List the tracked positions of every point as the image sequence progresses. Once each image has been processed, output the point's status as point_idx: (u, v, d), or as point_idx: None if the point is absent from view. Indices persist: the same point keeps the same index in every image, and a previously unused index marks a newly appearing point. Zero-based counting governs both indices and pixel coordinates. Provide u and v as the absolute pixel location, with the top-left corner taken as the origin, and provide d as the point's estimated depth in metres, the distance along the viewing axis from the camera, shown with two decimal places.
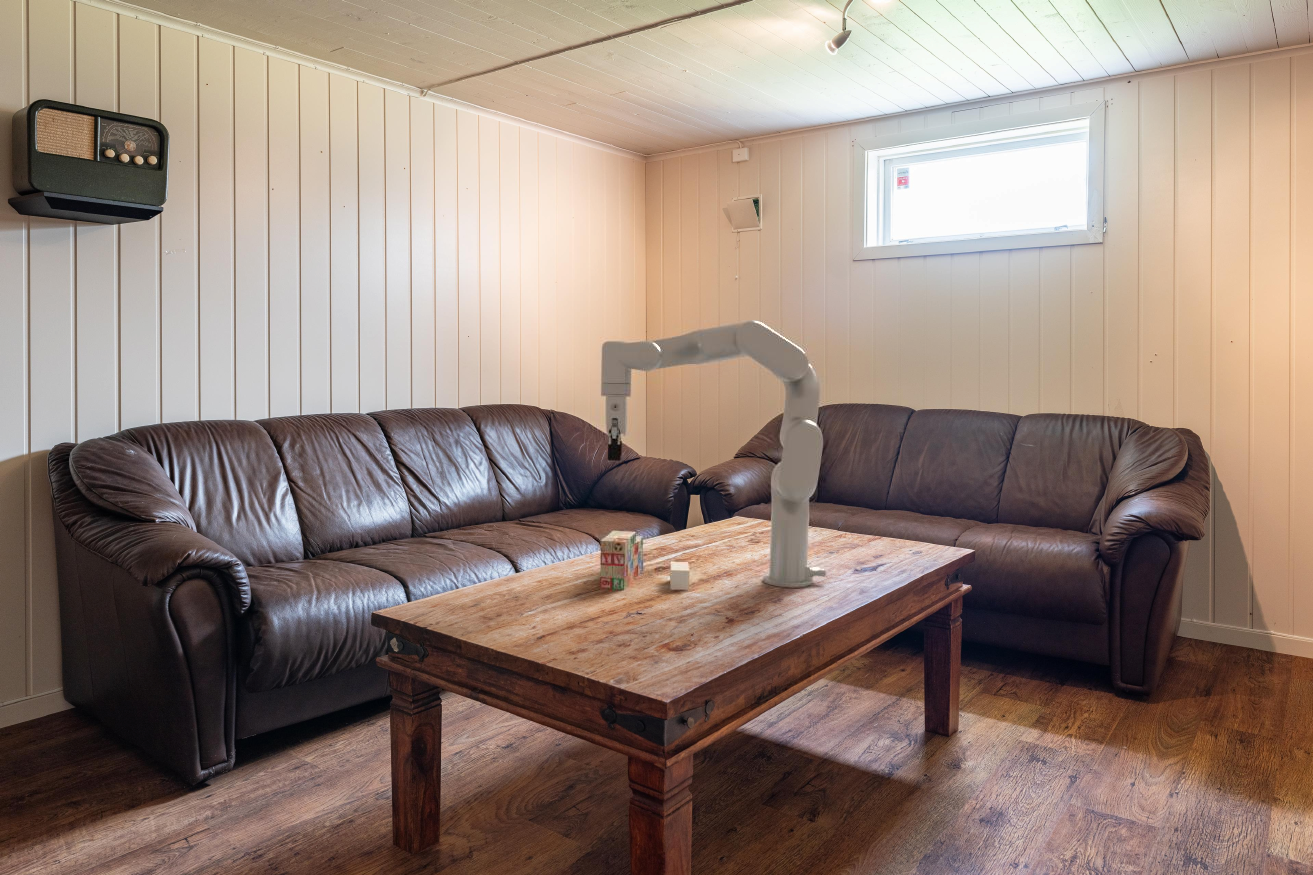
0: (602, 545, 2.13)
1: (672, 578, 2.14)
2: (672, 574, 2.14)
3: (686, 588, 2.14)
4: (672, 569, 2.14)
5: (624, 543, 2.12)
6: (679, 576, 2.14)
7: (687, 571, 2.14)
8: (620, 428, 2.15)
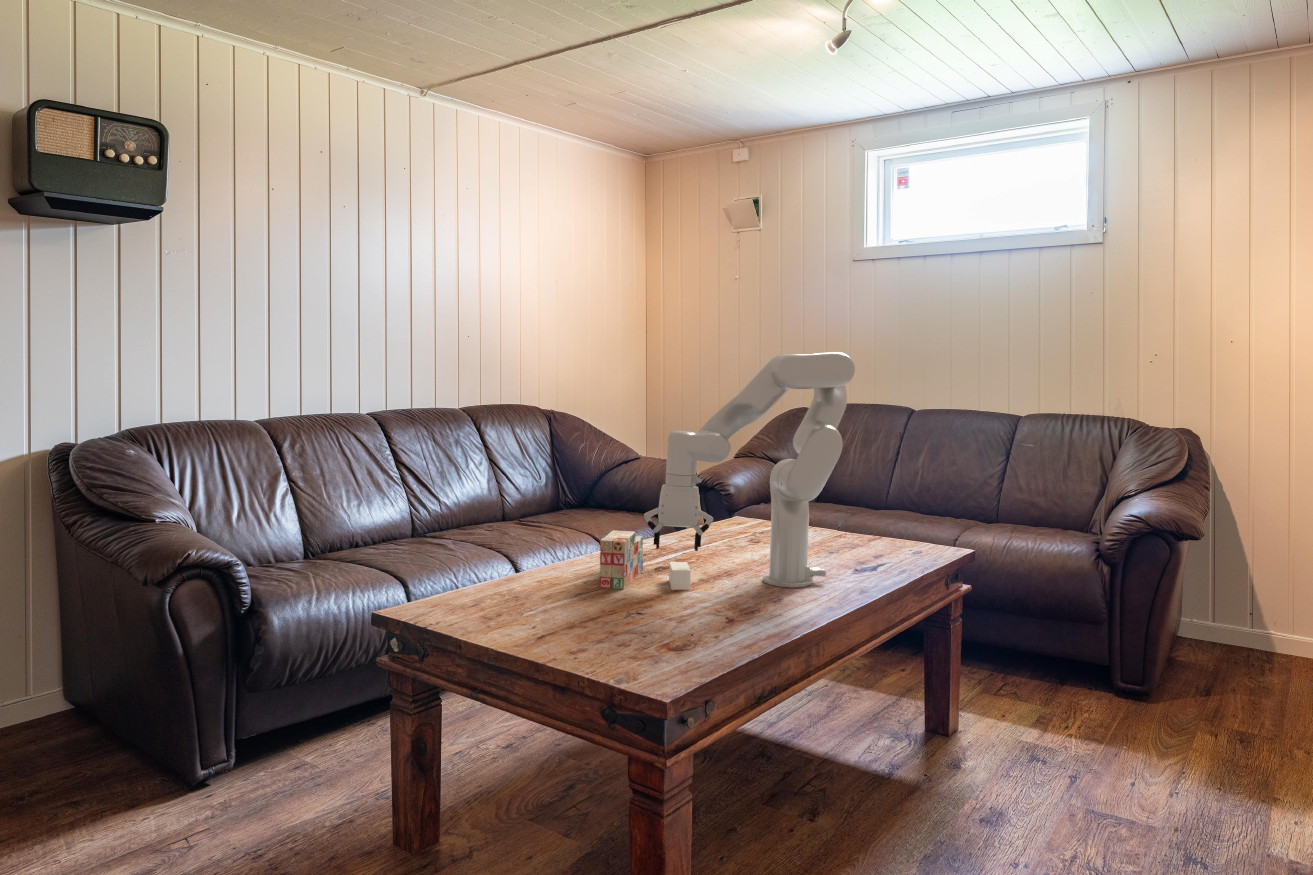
0: (602, 545, 2.13)
1: (673, 578, 2.14)
2: (673, 574, 2.13)
3: (687, 588, 2.14)
4: (673, 569, 2.14)
5: (624, 543, 2.12)
6: (680, 576, 2.14)
7: (688, 571, 2.14)
8: None
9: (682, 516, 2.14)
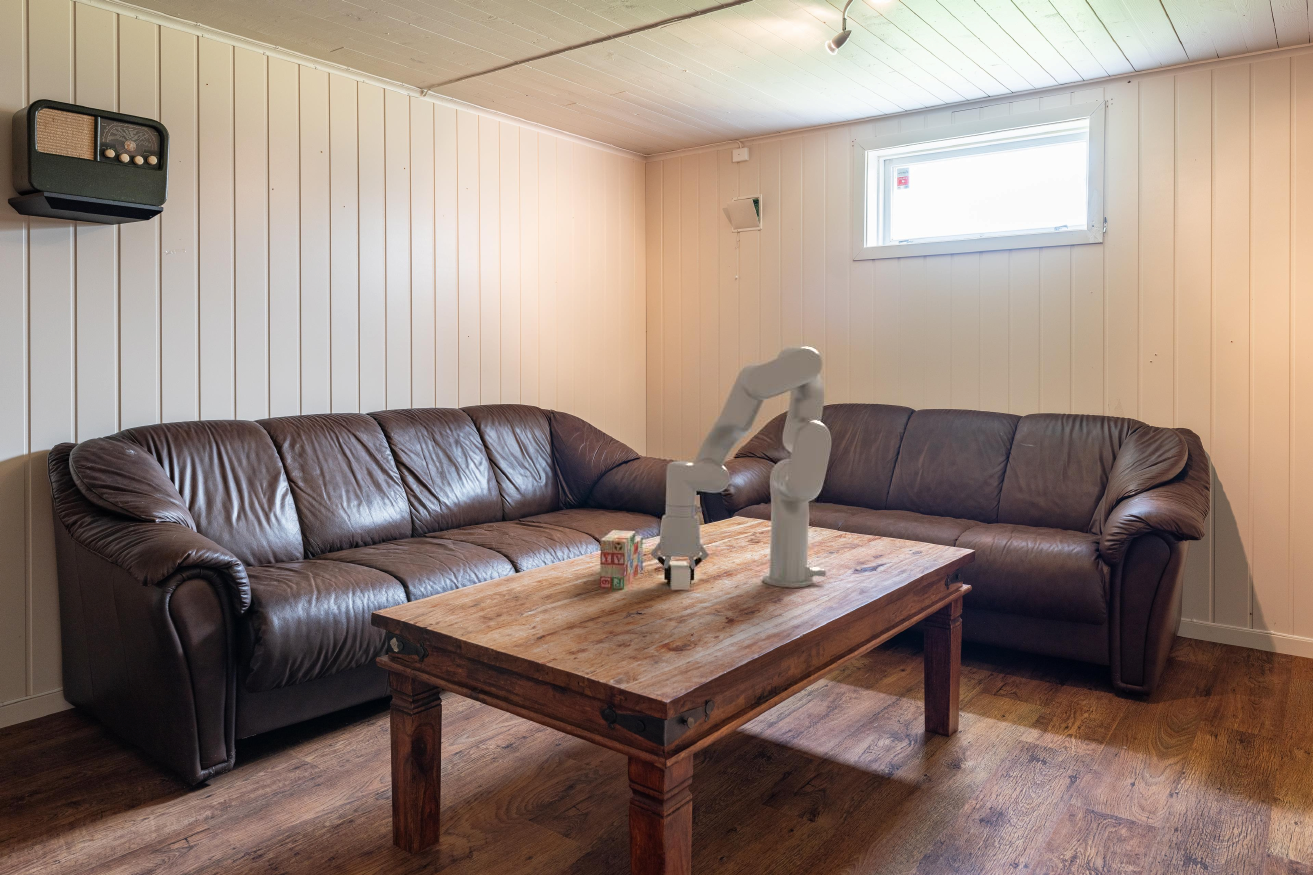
0: (602, 544, 2.13)
1: (673, 577, 2.14)
2: (673, 573, 2.13)
3: (687, 587, 2.14)
4: (673, 568, 2.14)
5: (624, 542, 2.12)
6: (680, 576, 2.14)
7: (688, 570, 2.14)
8: None
9: (683, 546, 2.15)
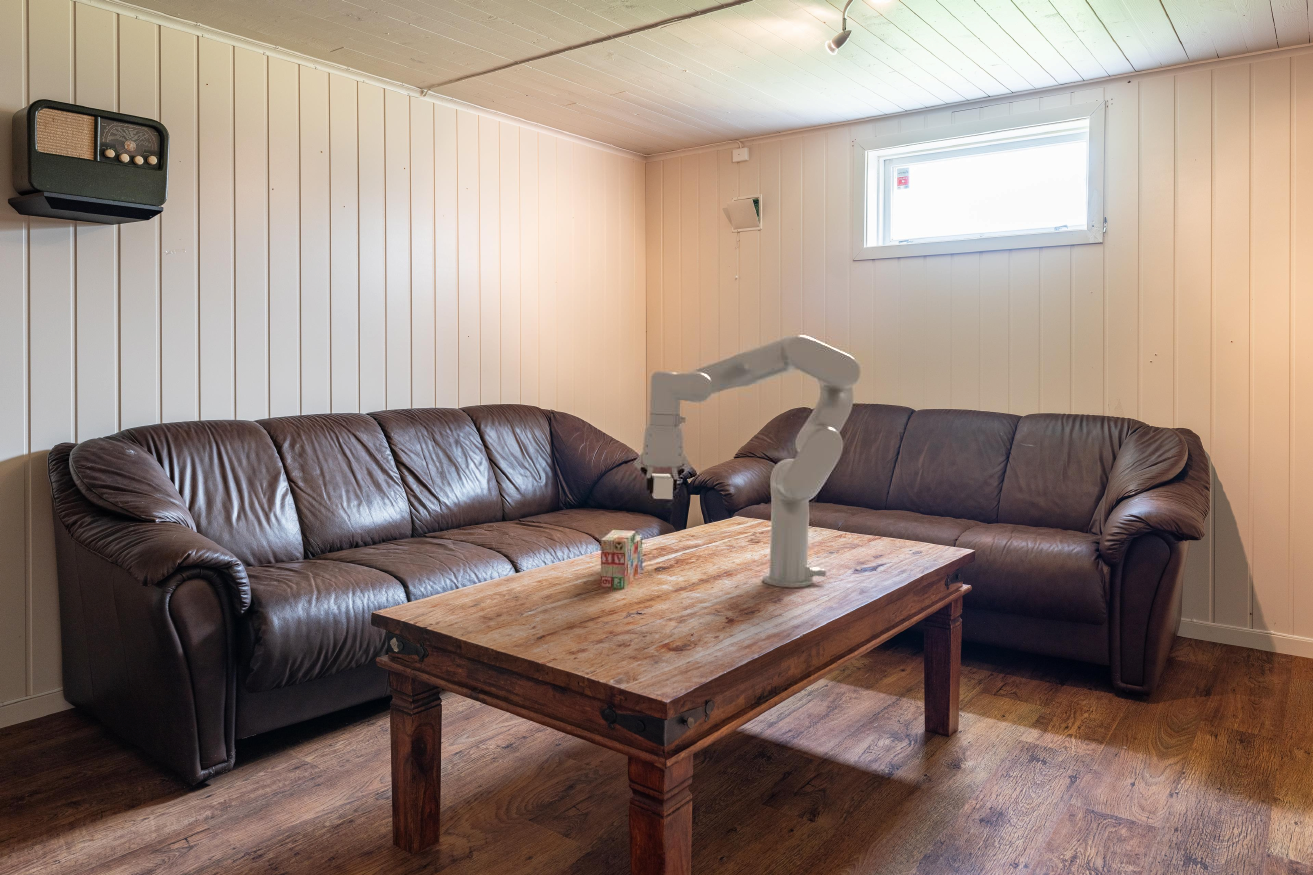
0: (602, 544, 2.14)
1: (656, 486, 2.13)
2: (656, 482, 2.13)
3: (670, 496, 2.14)
4: (656, 478, 2.14)
5: (624, 542, 2.13)
6: (662, 485, 2.13)
7: (671, 479, 2.13)
8: None
9: (666, 456, 2.15)
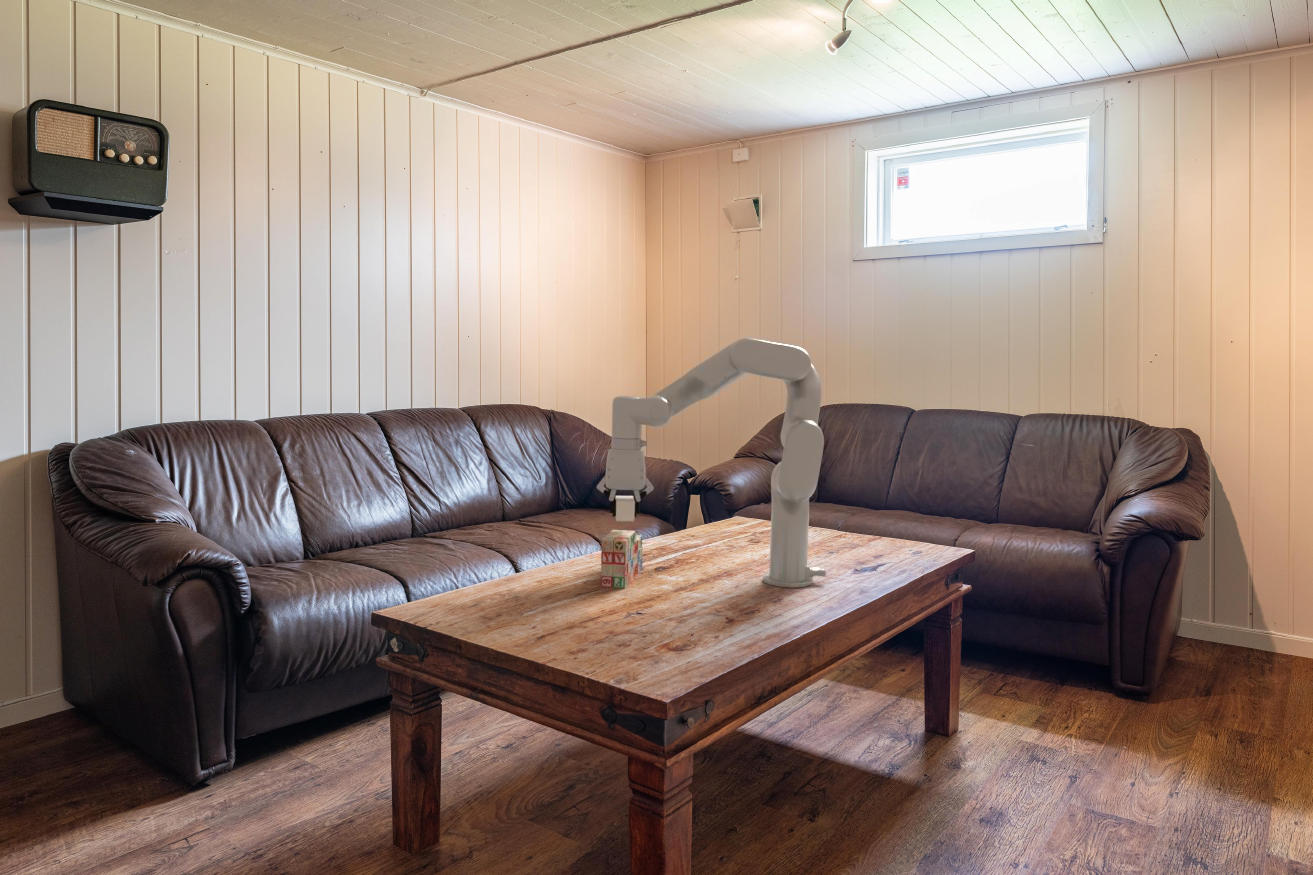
0: (603, 544, 2.14)
1: (618, 509, 2.17)
2: (618, 505, 2.17)
3: (631, 519, 2.18)
4: (618, 500, 2.18)
5: (625, 542, 2.13)
6: (624, 507, 2.17)
7: (632, 502, 2.17)
8: None
9: (628, 479, 2.19)
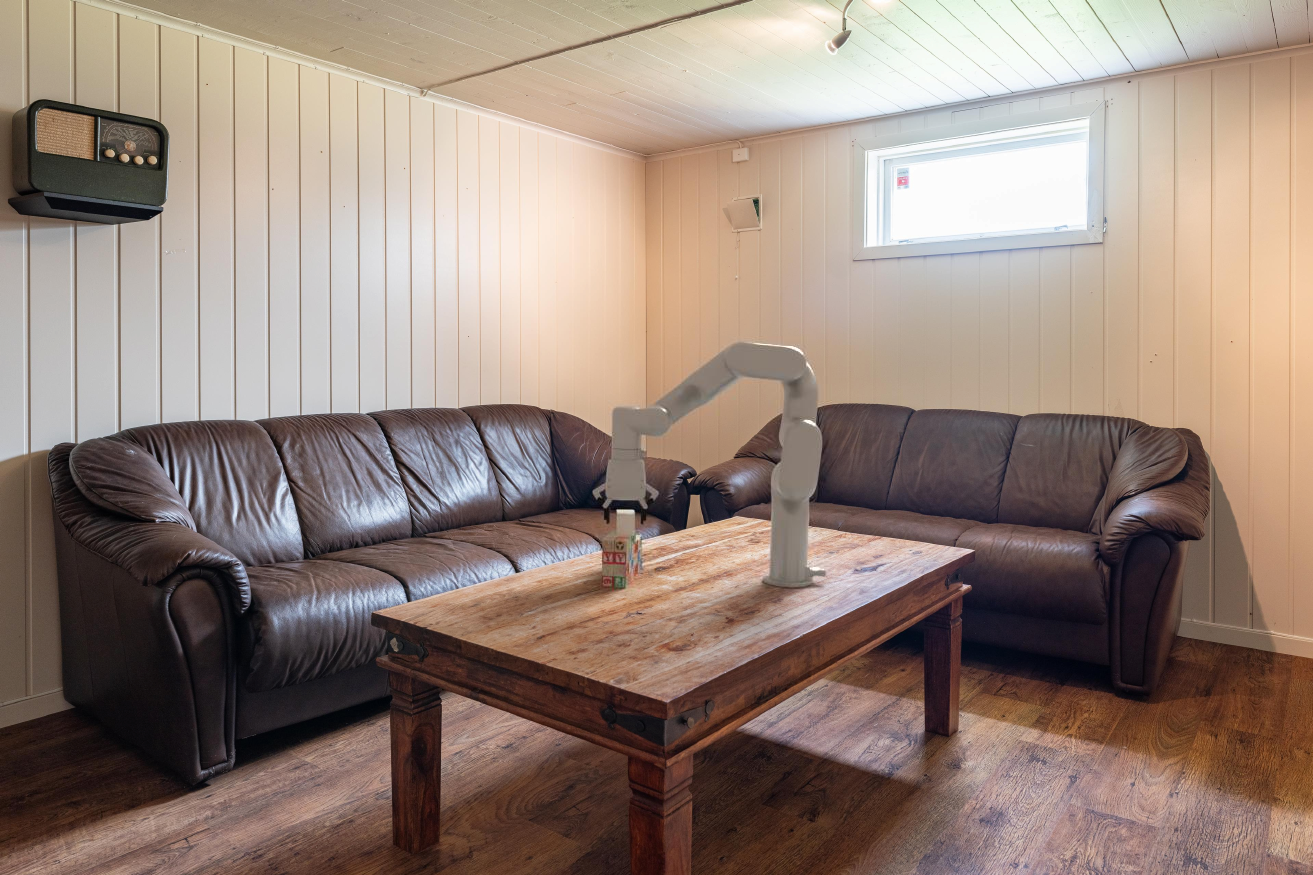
0: (604, 544, 2.14)
1: (618, 523, 2.18)
2: (618, 520, 2.18)
3: (632, 533, 2.18)
4: (618, 515, 2.18)
5: (626, 542, 2.13)
6: (624, 522, 2.18)
7: (633, 516, 2.18)
8: (645, 491, 2.23)
9: (628, 489, 2.19)
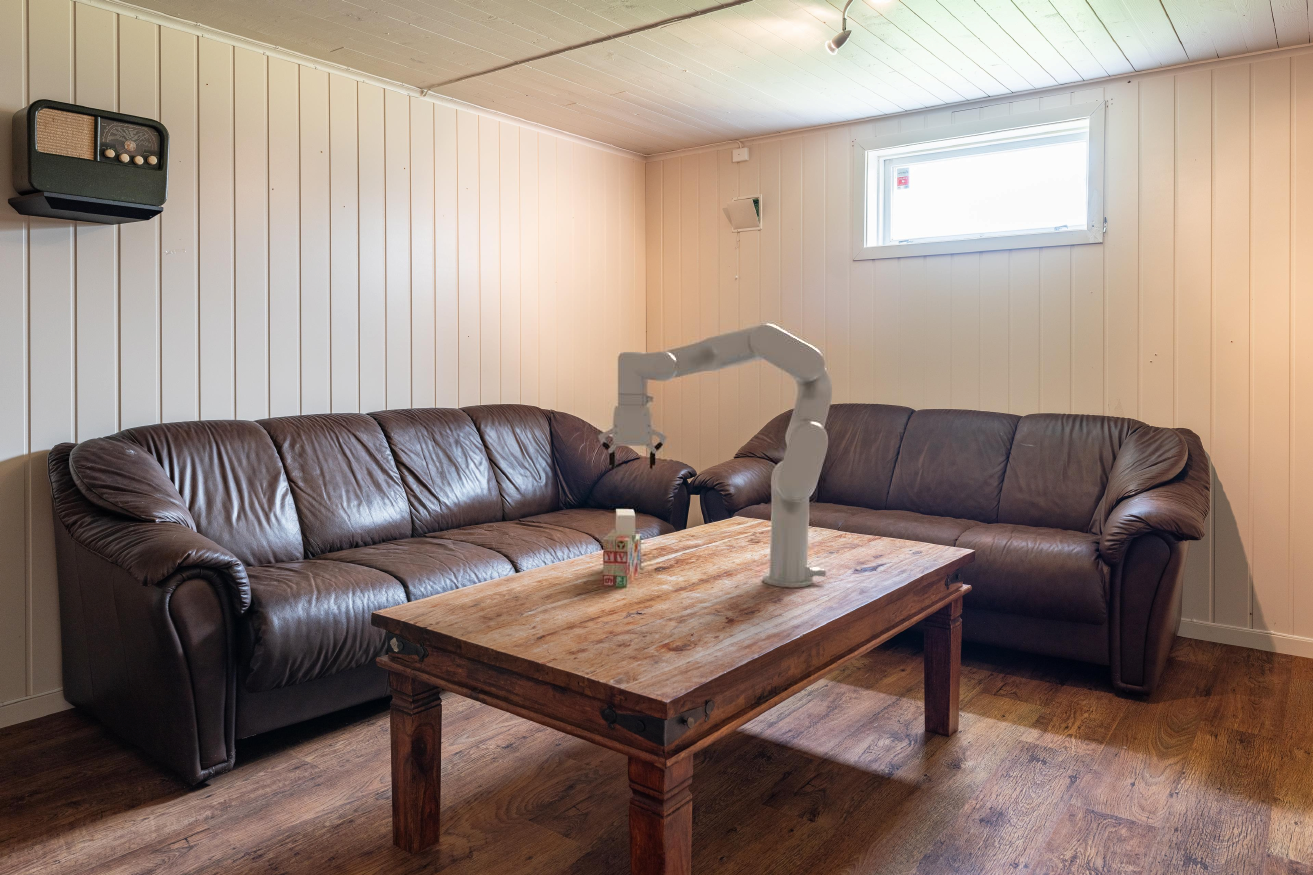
0: (605, 543, 2.15)
1: (618, 523, 2.18)
2: (618, 519, 2.18)
3: (632, 532, 2.19)
4: (618, 514, 2.19)
5: (627, 541, 2.14)
6: (625, 521, 2.18)
7: (633, 516, 2.18)
8: None
9: (635, 435, 2.19)
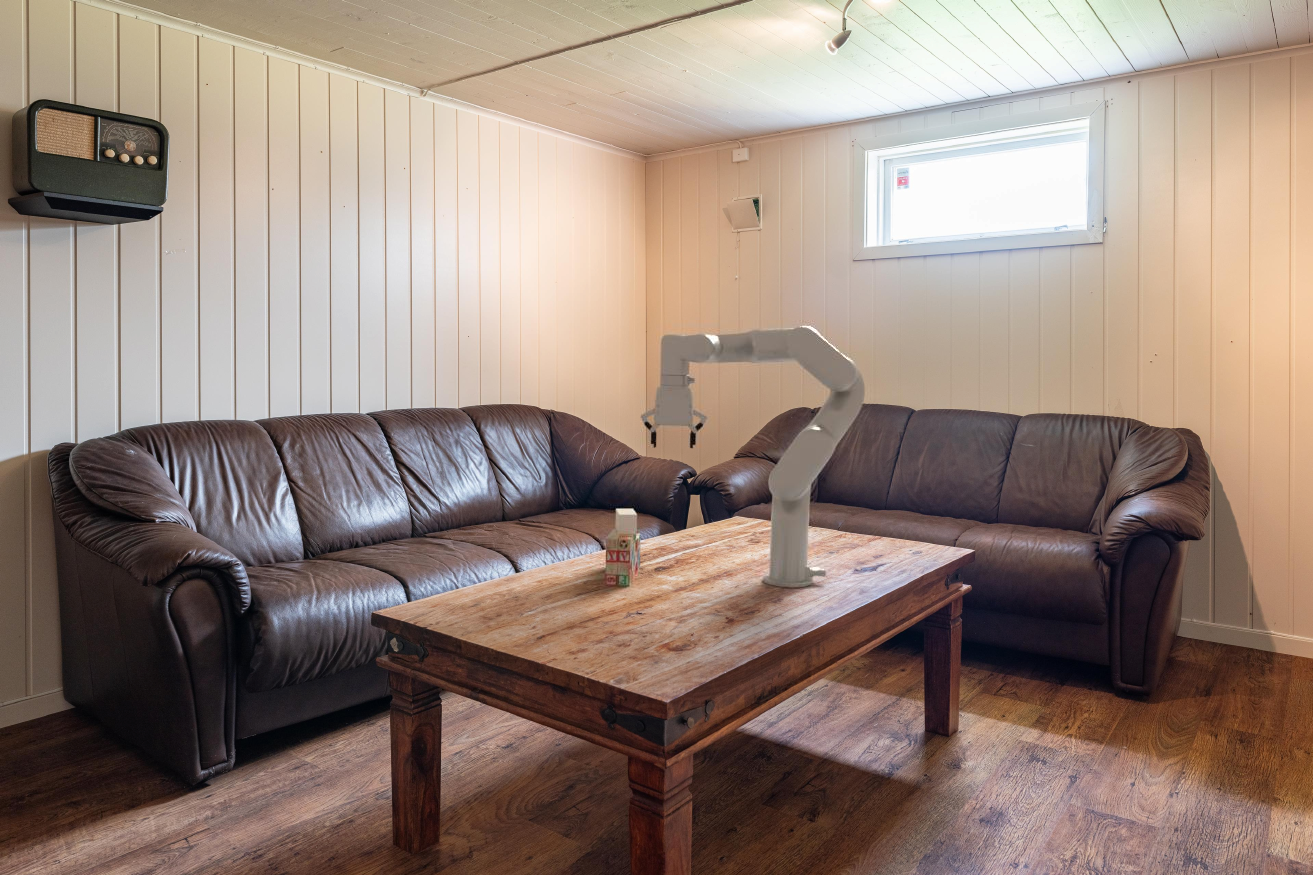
0: (607, 543, 2.16)
1: (620, 522, 2.19)
2: (620, 518, 2.19)
3: (634, 532, 2.20)
4: (620, 514, 2.20)
5: (629, 540, 2.15)
6: (627, 521, 2.19)
7: (635, 515, 2.19)
8: None
9: (677, 415, 2.25)
